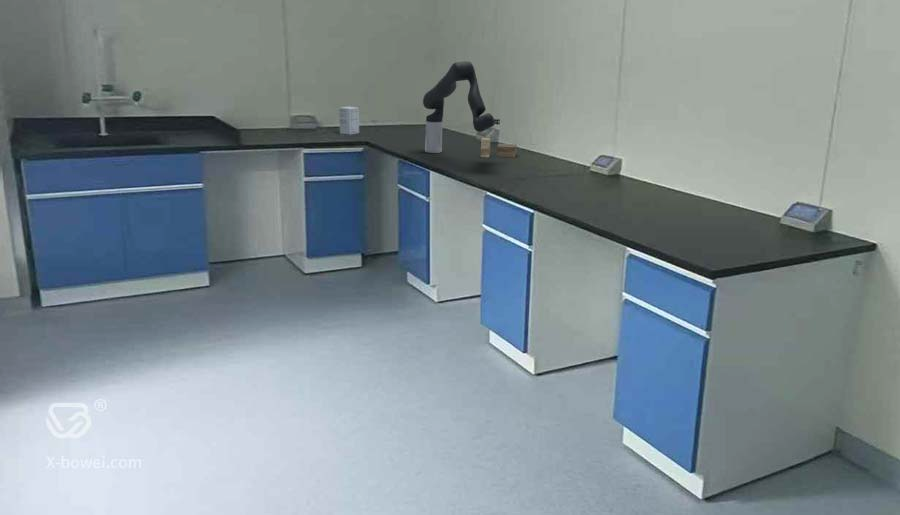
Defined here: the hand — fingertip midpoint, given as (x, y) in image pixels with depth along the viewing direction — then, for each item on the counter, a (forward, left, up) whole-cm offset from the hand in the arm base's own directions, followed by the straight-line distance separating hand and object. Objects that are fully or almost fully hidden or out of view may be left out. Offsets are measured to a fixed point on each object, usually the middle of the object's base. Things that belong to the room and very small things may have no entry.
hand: (486, 121), depth 395 cm
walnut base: (+14, +12, -21) cm, 28 cm away
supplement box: (-73, +98, -21) cm, 124 cm away
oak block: (+1, +8, -20) cm, 22 cm away
